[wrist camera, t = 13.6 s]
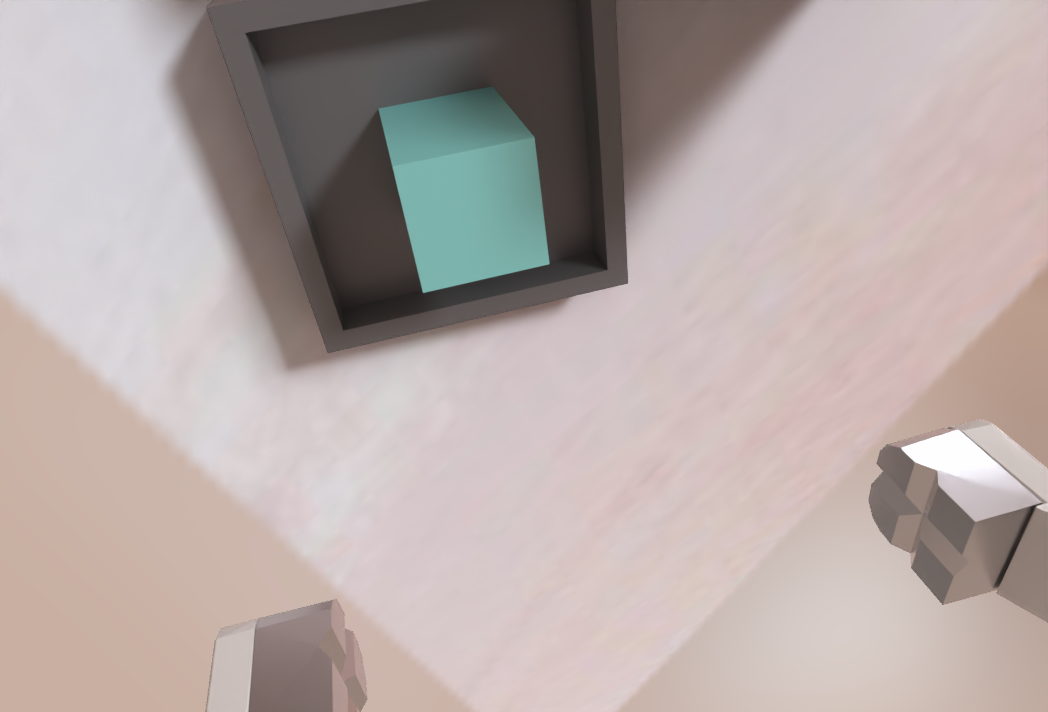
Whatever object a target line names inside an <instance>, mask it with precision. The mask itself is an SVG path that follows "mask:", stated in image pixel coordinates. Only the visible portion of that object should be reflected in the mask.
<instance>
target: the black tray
mask: <svg viewBox="0 0 1048 712" xmlns="http://www.w3.org/2000/svg"><path fill="white" fill-rule="evenodd" d="M206 8H207V11H208V14H209V17H210V19H211V22H212V25H213V28H214V31H215V34H216V37H217V39H218V42H219V45H220V48H221V51H222V54H223V56H224V59H225V62H226V65H227V68H228V71H229V73H230V76H231V79H232V82H233V85H234V88H235V91H236V93H237V96H238V99H239V102H240V105H241V108H242V110H243V113H244V116H245V119H246V122H247V125H248V127H249V130H250V133H251V136H252V139H253V142H254V145H255V147H256V150H257V153H258V156H259V159H260V162H261V164H262V167H263V170H264V173H265V176H266V179H267V181H268V184H269V187H270V190H271V193H272V196H273V199H274V201H275V204H276V207H277V210H278V213H279V216H280V218H281V221H282V224H283V227H284V230H285V233H286V235H287V238H288V241H289V244H290V247H291V250H292V253H293V255H294V258H295V261H296V264H297V267H298V270H299V272H300V275H301V278H302V281H303V284H304V287H305V289H306V292H307V295H308V298H309V301H310V304H311V307H312V309H313V312H314V315H315V318H316V321H317V324H318V326H319V329H320V332H321V335H322V338H323V341H324V343H325V346H326V349H327V352H328V353H331V352H335V351H339V350H344V349H348V348H352V347H356V346H361V345H365V344H369V343H374V342H378V341H382V340H387V339H391V338H395V337H400V336H404V335H408V334H412V333H417V332H421V331H425V330H430V329H434V328H438V327H443V326H447V325H451V324H455V323H460V322H464V321H468V320H473V319H477V318H481V317H486V316H490V315H494V314H498V313H503V312H507V311H511V310H516V309H520V308H524V307H529V306H533V305H537V304H541V303H546V302H550V301H554V300H559V299H563V298H567V297H572V296H576V295H580V294H584V293H589V292H593V291H597V290H602V289H606V288H610V287H615V286H619V285H623V284H628V271H627V249H626V226H625V203H624V181H623V158H622V136H621V113H620V90H619V68H618V45H617V22H616V0H213V1H212V2H211V3H210V4H209V5H208V6H207V7H206ZM492 86H493V87H494V89H495V90H496V91H497V92H498V93H499V95H500V96H501V97H502V98H503V100H504V101H505V102H506V103H507V104H508V106H509V107H510V108H511V109H512V111H513V112H514V113H515V114H516V115H517V117H518V118H519V119H520V120H521V121H522V123H523V124H524V125H525V126H526V128H527V129H528V130H529V131H530V132H531V134H532V135H533V136H534V137H535V146H536V154H537V163H538V171H539V179H540V188H541V196H542V205H543V213H544V222H545V230H546V238H547V247H548V255H549V264H548V265H544V266H540V267H535V268H531V269H526V270H522V271H518V272H513V273H509V274H504V275H500V276H496V277H491V278H487V279H482V280H478V281H474V282H469V283H465V284H460V285H456V286H452V287H447V288H443V289H439V290H434V291H430V292H425V293H423V291H422V287H421V282H420V278H419V274H418V270H417V266H416V262H415V258H414V254H413V250H412V245H411V241H410V237H409V233H408V229H407V225H406V221H405V217H404V213H403V208H402V204H401V200H400V196H399V192H398V188H397V184H396V180H395V175H394V171H393V167H392V163H391V159H390V155H389V151H388V146H387V142H386V138H385V134H384V130H383V126H382V122H381V117H380V113H379V108H384V107H390V106H395V105H400V104H405V103H410V102H415V101H420V100H425V99H431V98H436V97H441V96H446V95H451V94H456V93H461V92H466V91H471V90H477V89H482V88H487V87H492Z"/></svg>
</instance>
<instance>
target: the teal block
mask: <svg viewBox="0 0 1048 712" xmlns="http://www.w3.org/2000/svg"><path fill="white" fill-rule="evenodd" d="M379 113H380V117H381V122H382V126H383V130H384V134H385V138H386V142H387V146H388V151H389V155H390V159H391V163H392V167H393V171H394V175H395V180H396V184H397V188H398V192H399V196H400V200H401V204H402V208H403V213H404V217H405V221H406V225H407V229H408V233H409V237H410V241H411V245H412V250H413V254H414V258H415V262H416V266H417V270H418V274H419V278H420V282H421V287H422V291H423V293H425V292H430V291H434V290H439V289H443V288H447V287H452V286H456V285H460V284H465V283H469V282H474V281H478V280H482V279H487V278H491V277H496V276H500V275H504V274H509V273H513V272H518V271H522V270H526V269H531V268H535V267H540V266H544V265H548V264H549V255H548V247H547V238H546V230H545V222H544V213H543V205H542V196H541V188H540V179H539V171H538V163H537V154H536V146H535V137H534V136H533V135H532V134H531V132H530V131H529V130H528V129H527V128H526V126H525V125H524V124H523V123H522V121H521V120H520V119H519V118H518V117H517V115H516V114H515V113H514V112H513V111H512V109H511V108H510V107H509V106H508V104H507V103H506V102H505V101H504V100H503V98H502V97H501V96H500V95H499V93H498V92H497V91H496V90H495V89H494V87H493V86H492V87H487V88H482V89H477V90H471V91H466V92H461V93H456V94H451V95H446V96H441V97H436V98H431V99H425V100H420V101H415V102H410V103H405V104H400V105H395V106H390V107H384V108H379Z"/></svg>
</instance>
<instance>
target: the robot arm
mask: <svg viewBox="0 0 1048 712" xmlns="http://www.w3.org/2000/svg"><path fill="white" fill-rule="evenodd" d="M877 465H878V466H879V467H880V468H881V469H882V470H883V472H882V473H881V475H879V477H878V478H877V479H876V480H875V481H874V482H873V483H872V485H871V490H870V495H869V504H870V508H871V512H872V516H873V519H874V521H875V522H876V524H877V526H878V528H879V530H880V531H881V532H882V534H883V535H884V536H885V537H886V538H887V540H888V541H889V542H890V543H891V544H892V545H894V546H896V547H899V548H901V549H903V550H905V551H907V552H909V553H910V554H911V568H912V569H913V571H914V572H915V573H916V574H917V575H918V576H919V578H920V579H921V580H922V581H923V582H924V583H925V585H926V586H927V587H928V588H929V589H930V590H931V592H932V593H933V594H934V595H935V596H936V597H937V599H938V600H939V601H940V602H941V603H942V605H944V604H948V603H952V602H955V601H959V600H962V599H966V598H969V597H973V596H977V595H980V594H983V593H987V592H991V591H994V590H997V594H999V595H1000V596H1002V597H1004V598H1006V599H1007V600H1009V601H1011V602H1013V603H1014V604H1016V605H1018V606H1020V607H1021V608H1023V609H1025V610H1027V611H1028V612H1030V613H1032V614H1034V615H1036V616H1037V617H1039V618H1041V619H1043V620H1045V621H1046V622H1048V469H1047V468H1046V467H1045V466H1044V465H1043V464H1041V463H1040V462H1039V461H1038V460H1036V459H1035V458H1034V457H1033V456H1032V455H1030V454H1029V453H1028V452H1027V451H1026V450H1024V449H1023V448H1022V447H1021V446H1019V445H1018V444H1017V443H1016V442H1015V441H1013V440H1012V439H1011V438H1010V437H1008V436H1007V435H1006V434H1005V433H1004V432H1002V431H1001V430H1000V429H998V428H997V427H996V426H995V425H994V424H992V423H990V422H988V421H985V420H983V419H977V420H973V421H969V422H966V423H963V424H959V425H955V426H952V427H949V428H942V429H938V430H935V431H931V432H928V433H925V434H921V435H918V436H914V437H911V438H908V439H904V440H901V441H897V442H894V443H891V444H887V445H886V446H885V447H884V448H883V449H882V450H881V451H880V453H879V457H878V461H877ZM366 701H367V688H366V677H365V671H364V666H363V660H362V655H361V652H360V648H359V645H358V642H357V640H356V637H355V635H354V633H353V632H352V631H350V630H347V629H345V620H344V612H343V610H342V608H341V606H340V604H339V602H338V600H337V599H334V600H331V601H326V602H322V603H318V604H314V605H310V606H307V607H302V608H298V609H294V610H290V611H287V612H282V613H279V614H274V615H271V616H266V617H262V618H258V619H255V620H251V621H248V622H244V623H240V624H236V625H233V626H229V627H225V628H221V630H220V632H219V634H218V636H217V638H216V640H215V644H214V651H213V659H212V666H211V674H210V681H209V689H208V697H207V704H206V711H205V712H361V710H362V708H363V706H364V705H365V703H366Z"/></svg>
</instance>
